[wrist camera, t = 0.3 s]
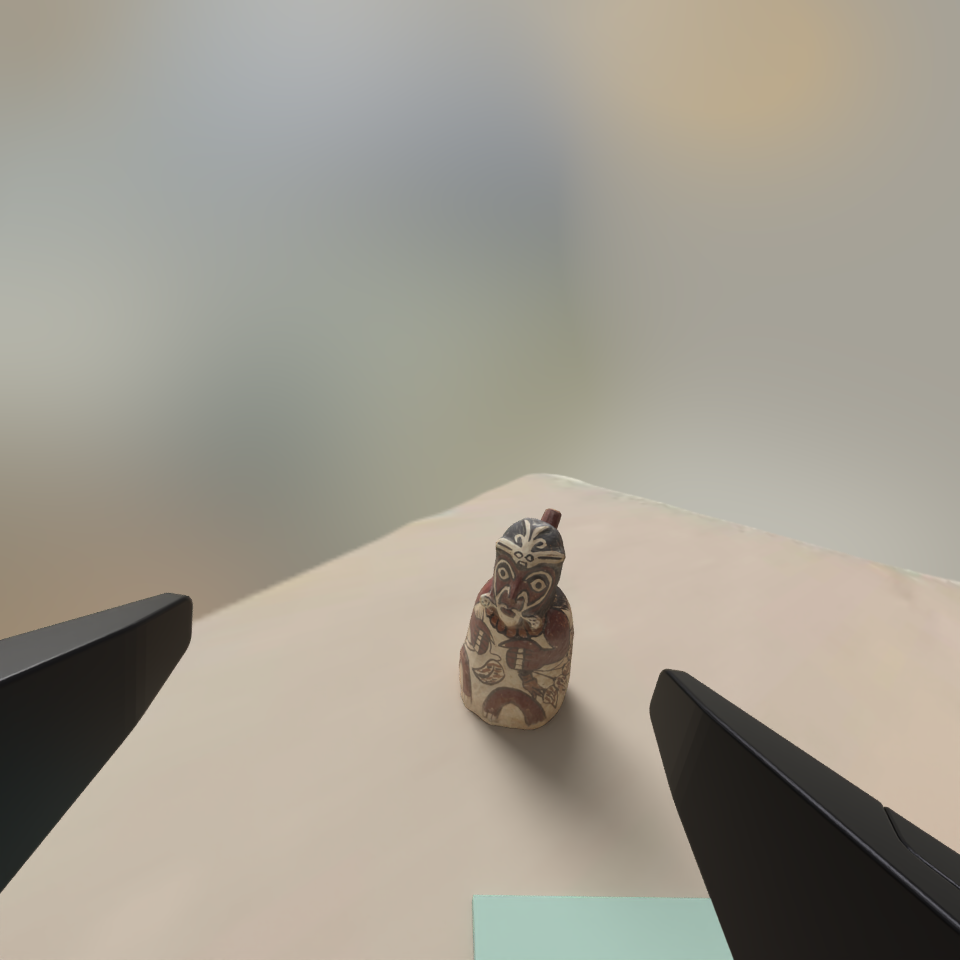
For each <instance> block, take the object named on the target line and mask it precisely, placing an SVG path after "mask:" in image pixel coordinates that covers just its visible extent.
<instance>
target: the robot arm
mask: <svg viewBox="0 0 960 960" xmlns="http://www.w3.org/2000/svg"><path fill="white" fill-rule="evenodd" d="M192 610H193V603H192V599H191V598H190V597H189V596H186V595H180V594H173V593H164V594H160V595H157V596H154V597H150V598H146V599H143V600H139V601H136V602H132V603H129V604H126V605H122V606H118V607H115V608H112V609H108V610H105V611H101V612H97V613H94V614H90V615H87V616H83V617H79V618H77V619H72V620H69V621H66V622H62V623H59V624H55V625H52V626H48V627H44V628H41V629H38V630H34V631H30V632H27V633H23V634H20V635H16V636H13V637H9V638H6V639H2V640H0V893H1V892H2V891H3V889H4V888H5V887H6V886H7V884H8V883H9V882H10V881H11V879H12V878H13V877H14V876H15V875H16V873H17V872H18V871H19V870H20V868H21V867H22V866H23V865H24V863H25V862H26V861H27V860H28V859H29V857H30V856H31V855H32V854H33V852H34V851H35V850H36V849H37V847H38V846H39V845H40V844H41V843H42V841H43V840H44V839H45V838H46V836H47V835H48V834H49V833H50V831H51V830H52V829H53V828H54V827H55V825H56V824H57V823H58V822H59V820H60V819H61V818H62V817H63V815H64V814H65V813H66V812H67V810H68V809H69V808H70V807H71V806H72V804H73V803H74V802H75V801H76V799H77V798H78V797H79V796H80V794H81V793H82V792H83V791H84V790H85V788H86V787H87V786H88V785H89V783H90V782H91V781H92V780H93V778H94V777H95V776H96V775H97V774H98V772H99V771H100V770H101V769H102V767H103V766H104V765H105V764H106V762H107V761H108V760H109V759H110V758H111V756H112V755H113V754H114V753H115V751H116V750H117V749H118V748H119V746H120V745H121V744H122V743H123V741H124V740H125V739H126V738H127V736H128V735H129V734H130V733H131V731H132V730H133V729H134V727H135V726H136V725H137V723H138V722H139V720H140V719H141V718H142V716H143V715H144V713H145V712H146V710H147V709H148V707H149V706H150V704H151V703H152V701H153V700H154V698H155V697H156V695H157V694H158V692H159V691H160V689H161V688H162V686H163V685H164V683H165V682H166V680H167V679H168V677H169V676H170V674H171V673H172V671H173V670H174V668H175V667H176V665H177V664H178V662H179V661H180V659H181V658H182V656H183V655H184V653H185V652H186V650H187V648H188V646H189V644H190V641H191V635H192V612H193V611H192ZM650 718H651V722H652V726H653V729H654V733H655V736H656V740H657V744H658V747H659V751H660V755H661V758H662V762H663V766H664V769H665V773H666V777H667V780H668V784H669V787H670V790H671V794H672V797H673V800H674V803H675V806H676V808H677V811H678V814H679V817H680V819H681V822H682V825H683V827H684V830H685V833H686V835H687V838H688V840H689V843H690V846H691V848H692V851H693V854H694V856H695V859H696V862H697V864H698V867H699V870H700V872H701V875H702V878H703V880H704V883H705V886H706V888H707V891H708V894H709V896H710V899H711V902H712V904H713V907H714V909H715V912H716V915H717V917H718V920H719V923H720V925H721V928H722V931H723V933H724V936H725V939H726V941H727V944H728V947H729V949H730V952H731V955H732V957H733V960H960V854H958V853H957V852H955V851H953V850H952V849H950V848H949V847H947V846H946V845H944V844H943V843H941V842H940V841H938V840H937V839H935V838H934V837H932V836H931V835H929V834H928V833H926V832H924V831H923V830H921V829H920V828H918V827H917V826H915V825H914V824H912V823H911V822H909V821H908V820H906V819H905V818H903V817H902V816H900V815H899V814H897V813H896V812H894V811H893V810H891V809H890V808H888V807H883V805H882V804H881V802H879V801H878V800H876V799H875V798H873V797H872V796H870V795H869V794H867V793H866V792H864V791H863V790H861V789H860V788H858V787H857V786H855V785H854V784H852V783H851V782H849V781H848V780H846V779H845V778H843V777H842V776H840V775H839V774H837V773H836V772H834V771H833V770H831V769H830V768H828V767H827V766H825V765H824V764H822V763H821V762H819V761H818V760H816V759H815V758H813V757H812V756H810V755H809V754H807V753H806V752H804V751H803V750H801V749H800V748H798V747H797V746H795V745H794V744H792V743H791V742H789V741H788V740H786V739H785V738H783V737H782V736H780V735H779V734H777V733H776V732H774V731H773V730H771V729H770V728H768V727H767V726H765V725H764V724H762V723H761V722H759V721H758V720H756V719H755V718H753V717H752V716H750V715H749V714H748V713H746V712H745V711H743V710H742V709H740V708H739V707H737V706H736V705H734V704H733V703H731V702H730V701H728V700H727V699H725V698H724V697H722V696H721V695H719V694H718V693H716V692H715V691H713V690H712V689H710V688H709V687H707V686H706V685H704V684H703V683H701V682H700V681H698V680H697V679H695V678H694V677H692V676H691V675H689V674H688V673H686V672H683V671H679V670H672V669H664V670H663V671H662V672H661V673H660V675H659V678H658V681H657V684H656V687H655V690H654V693H653V696H652V699H651V703H650Z"/></svg>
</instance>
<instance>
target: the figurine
mask: <svg viewBox="0 0 960 960" xmlns="http://www.w3.org/2000/svg"><path fill="white" fill-rule="evenodd" d="M560 518H561V513H560V512H559V511H557V510H555V509H552V508H549V509H546V510H545V512H544V514H543V516H542V519H541V520H538V519H534V518H525V519H522V520H520V521H518V522H516V523H514V524H513V525H512V526H510V527H509V528H508V529H507V531H506V532H505V533H504V535H503V537H501V538H500V539H499V540H498V541H497V542H496V560H495V566H494V574H493V577H492V578H491V579H490V580H488V582H487V583H486V584H485V585H484V586H483V588H482V589H481V591H480V592H479V594H478V596H477V599H476V601H475V605H474V608H473V612H472V615H471V619H470V623H469V628H468V632H467V636H466V639H465V642H464V644H463V646H462V648H461V651H460V662H459V669H460V684H461V689H462V691H461V696H462V699H463V702H464V704H465V707H467V708H468V709H469V710H471V711H472V712H474V713H475V714H477V715H478V716H479V717H480V718H481V719H482V720H483V721H485V722H487V723H488V724H490V725H498V726H504V727H508V728H519V729H523V730H524V729H536V728H539V727H541V726H543V725H545V724H546V723H547V722H549V721H550V720H551V719H552V718H553V717H554V715H555V714H556V713H557V712H558V710H559V709H560V707H561V705H562V702H563V699H564V697H565V693H566V690H567V686H568V682H569V677H570V667H571V657H572V647H573V636H574V628H573V619H572V612H571V607H570V604H569V602H568V600H567V598H566V596H565V595H564V593H563V592H562V591H561V589H560V588H559V587H558V586H557V585H558V582H559V579H560V575H561V570H562V565H563V562H564V560H565V550H564V546H563V541H562V537H561V535H560V533H559V531H558V530H557V527H558V524H559V521H560Z"/></svg>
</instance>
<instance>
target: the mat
mask: <svg viewBox="0 0 960 960" xmlns="http://www.w3.org/2000/svg"><path fill="white" fill-rule="evenodd" d="M472 911H473V941H474V960H733V957H732V955H731V952H730V949H729V947H728V944H727V941H726V939H725V936H724V933H723V931H722V928H721V925H720V923H719V920H718V917H717V915H716V912H715V909H714V907H713V904H712V902H711V899H710V898H657V897H584V896H512V895H473V899H472Z"/></svg>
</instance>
